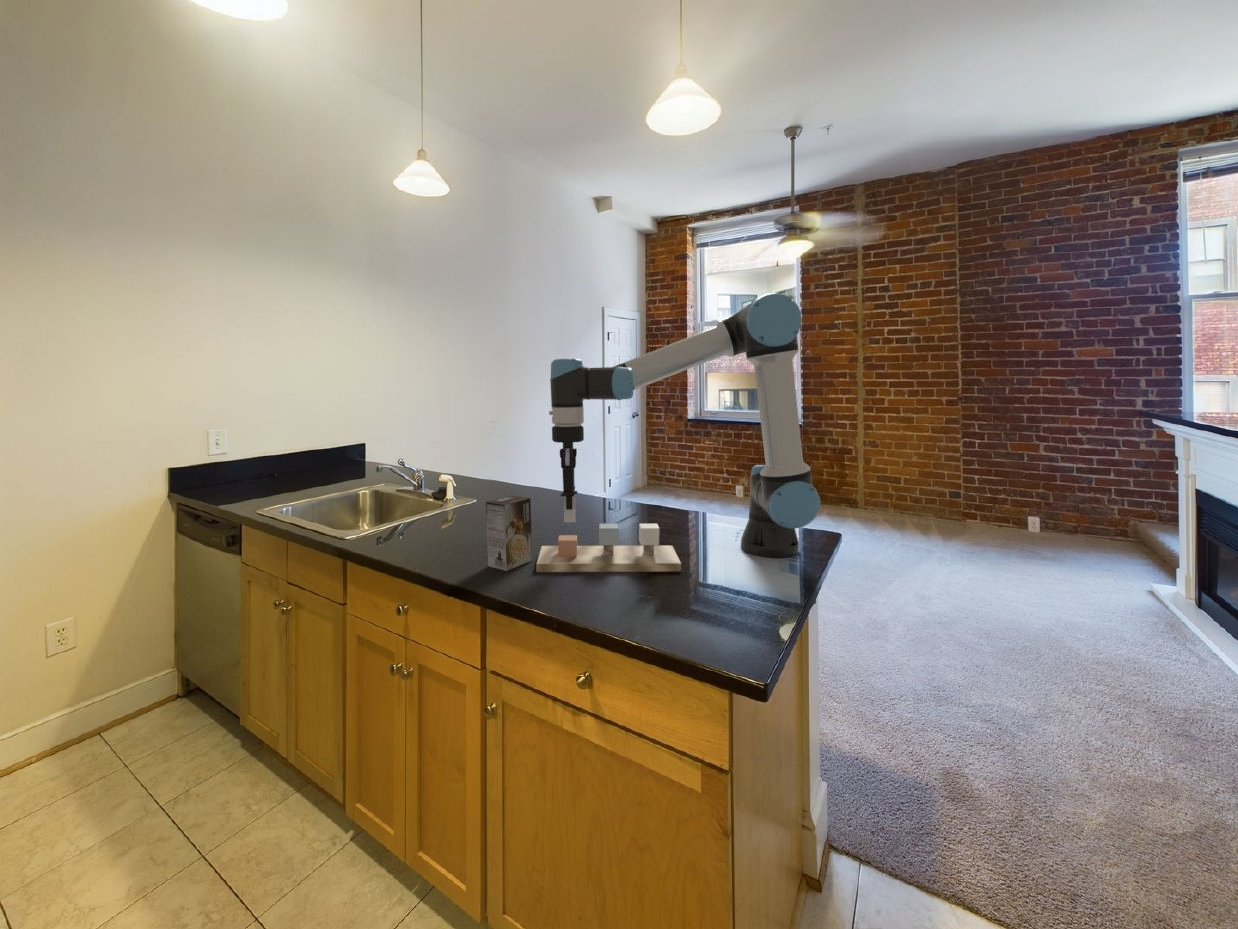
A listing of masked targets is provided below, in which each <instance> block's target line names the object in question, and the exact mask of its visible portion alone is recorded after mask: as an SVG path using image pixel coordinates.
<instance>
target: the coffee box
mask: <svg viewBox="0 0 1238 929" xmlns="http://www.w3.org/2000/svg"><path fill="white" fill-rule="evenodd" d="M531 504H532V503H531V497H524V496H518V495H508V496H504V497H501V498H500V497H499V498H496V499H493V500H488V501H485V508H486V509H485V510H486V511H485V512H486V536H487V537H486V538H487V542H486V544H487V566H488V567H489V568H493V569H497V570H500V571H501V570H502V571H505V572H507V571H510V570H513V569H515V568H518V567H520V566H522V565H524V564H525V565H526V564H527V563H529V562H531V561H533V552H532V550H533V549H532V548H533V545H532V507H531V506H532V505H531Z"/></svg>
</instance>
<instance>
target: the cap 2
mask: <svg viewBox="0 0 1238 929" xmlns="http://www.w3.org/2000/svg"><path fill="white" fill-rule="evenodd" d="M638 524H639V525H638V541H639V546H643V545H654V546H660V527H659V524H658V523H638Z"/></svg>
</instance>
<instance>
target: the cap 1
mask: <svg viewBox="0 0 1238 929" xmlns="http://www.w3.org/2000/svg"><path fill="white" fill-rule="evenodd" d="M557 540H558V541H557V546H558V557H577V546H578V535H577V534H576V535H575V534H574V535H572V534H569V535H567V534H565V535H564V534H562V535H561V534H560V535H558V539H557Z"/></svg>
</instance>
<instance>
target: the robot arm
mask: <svg viewBox="0 0 1238 929" xmlns="http://www.w3.org/2000/svg"><path fill="white" fill-rule="evenodd" d="M801 313H802V312H801V310H800V308H799V305H798V304H797V303H796V301H794V299H792V298H791V297H790V296H788V295H786V294H782V293H779V292H778V293H777V292H772V293H766V294H763V295H760V296H758V297H756V298H755V299H753V300H752V301H751V302H750V303H748V304H746V305H745V306H744V307H743V308H741V309H740V310H737V312H735V313H733V314H732V315H729V316H728V317H725V318H723V319H720V320H719V321H718V322H717V323H716V326H714V327H711V328H708V329H706V330H704V331H700V332H699V333H696V334H694V335H691V336H688V337H686V338H683V339H680V340H678V341H675V342H672V343H670V344H667V345H665V346H663V347H660V348H658V349H654V350H653V351H650V352H647V353H644V354H643V355H640V356H637V357H635V358H633V359H630V360H627V361H624V362H623V363H619V364H616V365H615V366H614V365H613V366H608V367H607V366H605V367H604V366H602V367H586V366H584V365H583V361H582V359H580V358H557V359H554V360H552V361H551V363H550V378H549V381H550V401H551V404H550V405H551V410H549V412H548V414H549V416H551V423H552V424H553V426H552V427H551V440H552V442H553V443H558V444H559V443H561V444H562V448H560V450H559V458H560V467H561V469H562V487H563V488H562V489H563V490H562V493H560V497H563V522H564V523H576V495H578V490H576V485H575V469H576V465H577V461H576V460H577V454H578V452H577V451H578V450H577V448H574V443H581V442H583V441H584V440H585V434H584V426H583V425H582V424H583V423H584V421H585V420H584V416H585V414H584V400H586V401H587V400H600V401H601V400H602V401H603V400H605V401H606V400H607V401H608V400H614V401H615V400H617V401H622V400H630V399H632V398H633V396H634V391H635V390H638V389H640V388H642V387H645V386H648V385H651V384H653V383H656V382H658V381H662V380H663V379H667V378H669V377H672V376H674V375H677V374H679V373H682V372H685V371H687V370H689V369H692V368H695V367H698V366H701V365H704V364H706V363H707V362H711V361H714V360H715V359H718V358H721V357H723V356H728V357H731V358H732V357H735V356H737V355H740V354H744V353H745V355H746V356H745V357H746V360H747V361H748V362H749V363H751V364H752V365H753V367H754V376H755V377H754V378H755V384H756V392H757V393H756V394H757V402H758V408H759V409H758V410H759V418H760V427H761V436H762V437H761V438H762V443H763V444H762V445H763V451H764V453H763V454H764V461H765V464H763V465H762V464H756V465H754V466H752V467H751V472H750V473H751V474H750V477H749V478H750V486H749V488H750V489H749V505H748V506H749V508H748V510H749V511H748V512H749V513H748V520H747V523H746V524H745V525H746V526H745V528H744V531H743V532H742V536H741V539H740V548H741V549H742V550H743V551H745V552H747V553H750V554H752V555H755V556H759V557H760V556H761V557H768V558H789V557H793V556H796V555H797V553H798V554H799V553H800V552H799V551H800V543H799V538H798V535H797V532H796V529H800V528H803V527H805V526H808V525H809V524H811V523H812V522H813V520H815V518H816V517H817V515H818V514H819V512H820V509H821V498H820V495H819V493H818V491H817V489H816V487H814V486H813V480H812V479H813V478H812V469H811V466H809V464H807V463H806V462H804V458H803V448H802V439H801V429H800V421H799V419H800V418H799V410H798V409H799V408H798V401H797V392H796V390H797V389H796V383H795V373H794V372H795V371H794V364H793V363H794V361H793V360H794V358H795V356H796V355H797V354H798V353H799V344H798V334H799V332H800V330H801V326H802V321H803V320H802V319H803V318H802V317H803V316H802V314H801Z"/></svg>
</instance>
